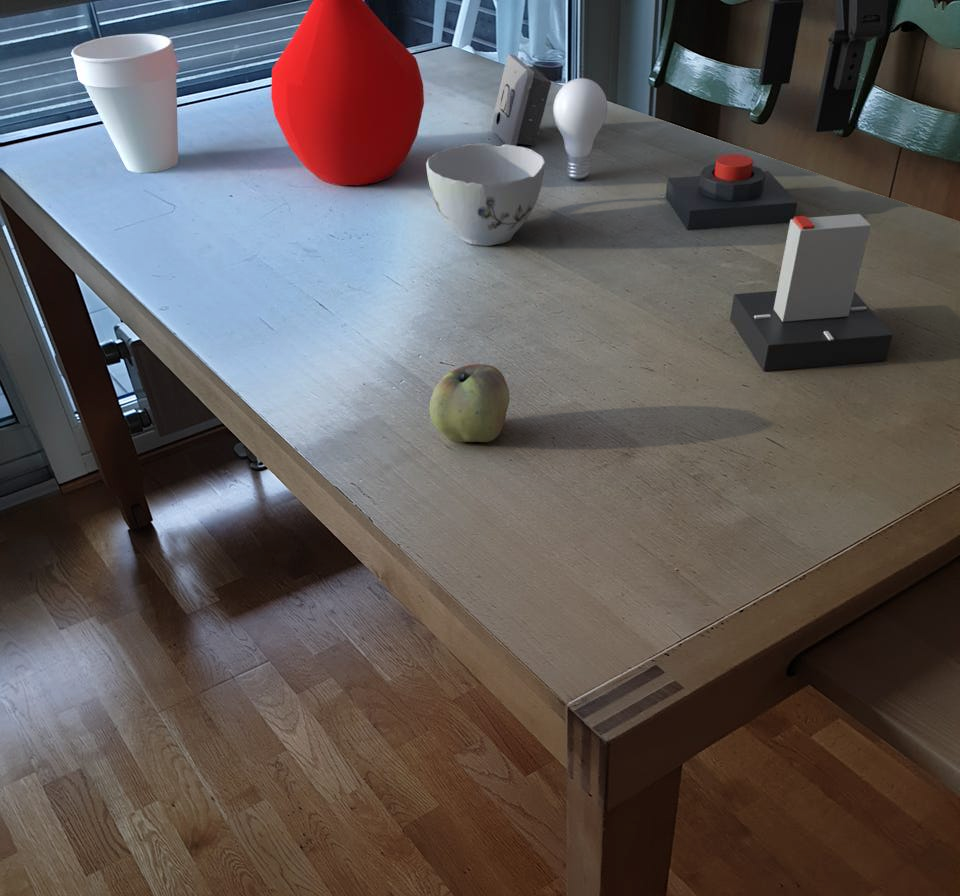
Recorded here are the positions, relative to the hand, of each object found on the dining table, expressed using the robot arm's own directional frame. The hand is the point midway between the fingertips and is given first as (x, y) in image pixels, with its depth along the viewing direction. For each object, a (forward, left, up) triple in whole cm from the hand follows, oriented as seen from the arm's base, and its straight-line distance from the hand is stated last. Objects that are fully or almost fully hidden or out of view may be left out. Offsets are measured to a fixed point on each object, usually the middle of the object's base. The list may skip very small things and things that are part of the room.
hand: (800, 105), depth 85 cm
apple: (+32, +23, -16) cm, 42 cm away
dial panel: (+1, +12, -16) cm, 20 cm away
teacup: (+27, -18, -16) cm, 36 cm away
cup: (+68, -49, -16) cm, 85 cm away
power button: (-1, -19, -12) cm, 23 cm away
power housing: (-1, -19, -16) cm, 25 cm away
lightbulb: (+14, -32, -16) cm, 38 cm away
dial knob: (+1, +12, -13) cm, 18 cm away
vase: (+41, -40, -16) cm, 59 cm away
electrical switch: (+19, -49, -16) cm, 55 cm away
